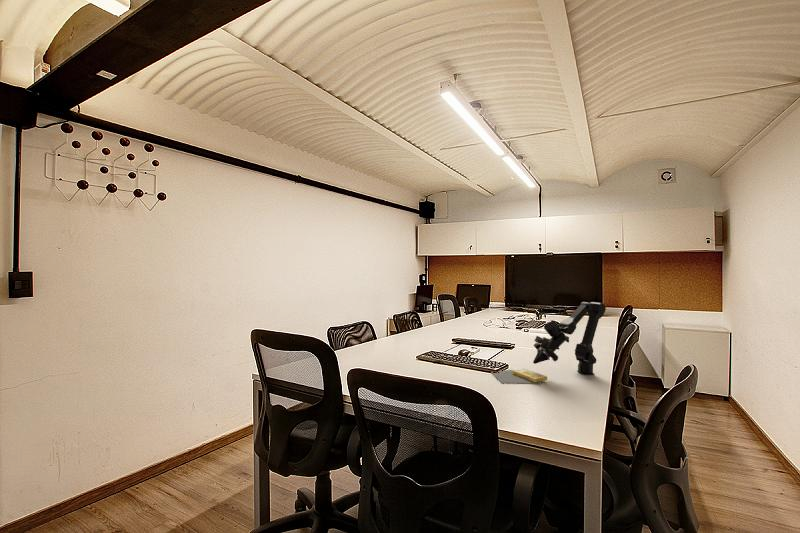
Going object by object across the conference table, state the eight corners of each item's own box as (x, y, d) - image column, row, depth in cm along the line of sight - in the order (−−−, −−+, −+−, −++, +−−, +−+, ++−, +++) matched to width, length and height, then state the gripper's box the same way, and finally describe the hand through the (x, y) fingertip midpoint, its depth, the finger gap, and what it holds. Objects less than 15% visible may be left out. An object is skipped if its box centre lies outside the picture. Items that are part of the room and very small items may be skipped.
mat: (525, 371, 211) (525, 370, 211) (541, 383, 189) (541, 382, 189) (489, 370, 211) (489, 370, 211) (501, 383, 189) (501, 382, 189)
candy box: (524, 372, 207) (512, 373, 204) (524, 368, 207) (512, 369, 204) (547, 380, 193) (534, 382, 189) (547, 376, 193) (534, 378, 189)
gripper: (537, 327, 210) (516, 347, 209) (552, 334, 191) (530, 356, 191) (551, 342, 210) (530, 362, 210) (567, 350, 191) (545, 372, 191)
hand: (533, 363), depth 200 cm, fingers closed
